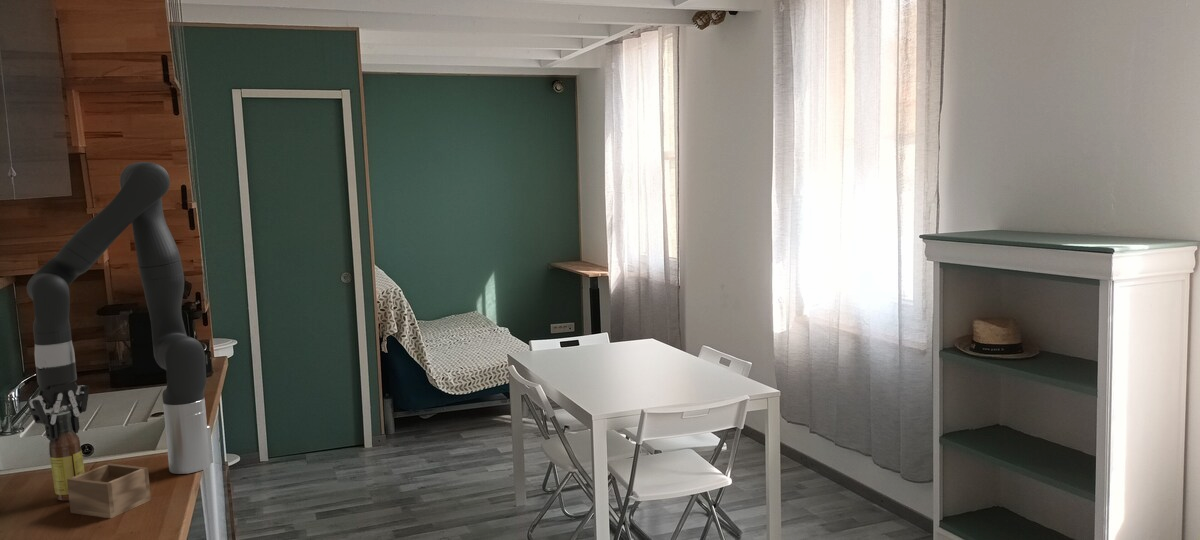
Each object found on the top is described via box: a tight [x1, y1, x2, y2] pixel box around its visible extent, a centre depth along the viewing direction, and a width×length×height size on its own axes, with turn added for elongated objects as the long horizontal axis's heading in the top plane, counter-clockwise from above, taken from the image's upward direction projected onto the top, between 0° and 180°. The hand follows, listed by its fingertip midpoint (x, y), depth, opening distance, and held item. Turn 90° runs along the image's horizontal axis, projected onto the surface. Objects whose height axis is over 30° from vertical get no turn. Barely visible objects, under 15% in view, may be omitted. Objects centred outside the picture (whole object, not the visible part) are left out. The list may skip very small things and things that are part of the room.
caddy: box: [67, 462, 152, 519], centre depth 191 cm, size 10×12×8 cm
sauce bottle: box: [48, 409, 86, 502], centre depth 197 cm, size 7×6×20 cm
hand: (63, 436), depth 196 cm, fingers closed on sauce bottle, 4 cm apart
